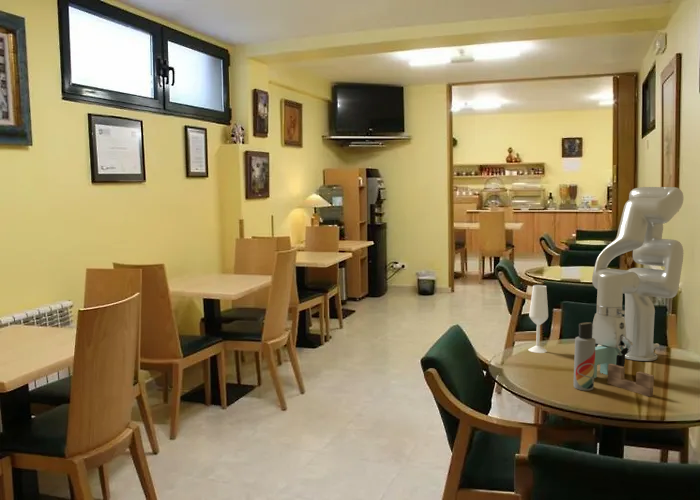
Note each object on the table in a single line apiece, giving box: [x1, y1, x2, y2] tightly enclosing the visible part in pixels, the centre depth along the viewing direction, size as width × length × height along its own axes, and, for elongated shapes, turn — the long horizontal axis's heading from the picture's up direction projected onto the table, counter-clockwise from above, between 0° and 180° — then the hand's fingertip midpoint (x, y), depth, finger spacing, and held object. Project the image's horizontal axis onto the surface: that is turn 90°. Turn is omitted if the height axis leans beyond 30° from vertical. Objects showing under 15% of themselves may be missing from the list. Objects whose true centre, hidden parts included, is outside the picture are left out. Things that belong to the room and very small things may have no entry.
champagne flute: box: [527, 284, 549, 354], centre depth 227 cm, size 7×7×24 cm
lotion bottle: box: [573, 321, 595, 392], centre depth 185 cm, size 6×6×20 cm
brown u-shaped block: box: [607, 364, 655, 397], centre depth 184 cm, size 14×2×6 cm, turn 30°
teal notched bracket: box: [594, 345, 618, 379], centre depth 198 cm, size 15×6×9 cm, turn 120°
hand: (606, 363), depth 200 cm, fingers open, 9 cm apart
